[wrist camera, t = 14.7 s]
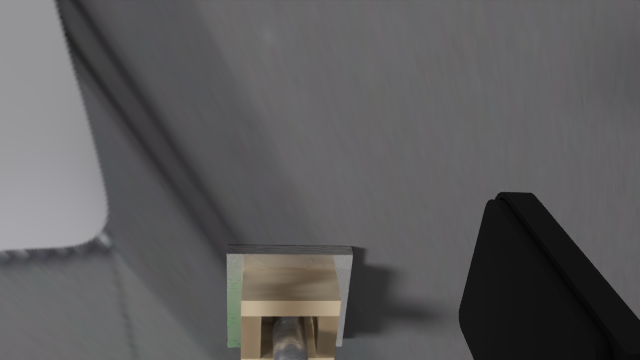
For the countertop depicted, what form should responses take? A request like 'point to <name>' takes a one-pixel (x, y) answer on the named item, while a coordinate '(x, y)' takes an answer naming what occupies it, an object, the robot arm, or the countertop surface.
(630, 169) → the countertop surface
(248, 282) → the light brown square frame
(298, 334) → the post
